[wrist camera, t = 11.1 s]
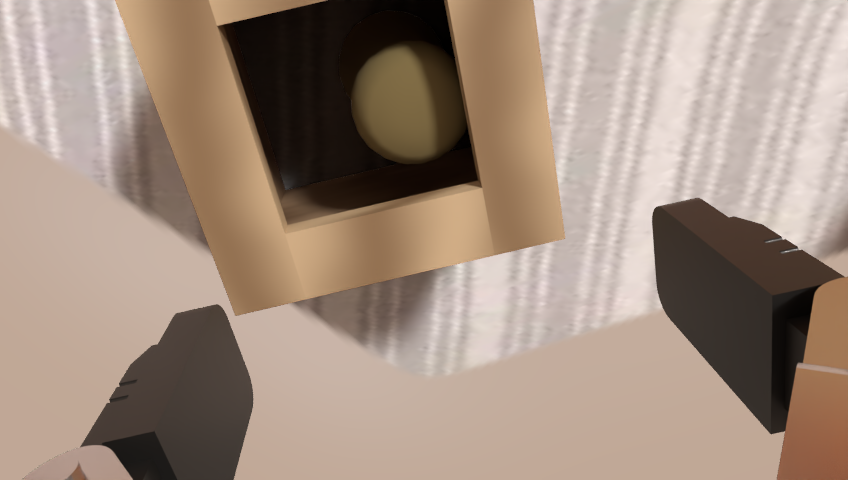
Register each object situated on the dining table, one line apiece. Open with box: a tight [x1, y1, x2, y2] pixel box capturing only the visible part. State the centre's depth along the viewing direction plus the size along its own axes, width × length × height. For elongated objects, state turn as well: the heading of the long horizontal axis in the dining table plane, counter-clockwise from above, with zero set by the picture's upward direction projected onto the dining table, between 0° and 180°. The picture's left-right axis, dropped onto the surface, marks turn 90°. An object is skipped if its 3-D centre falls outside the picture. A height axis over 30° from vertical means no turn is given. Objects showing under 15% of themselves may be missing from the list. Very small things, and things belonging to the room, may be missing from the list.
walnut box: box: [115, 0, 565, 316], centre depth 30 cm, size 14×14×13 cm
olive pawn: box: [339, 10, 468, 164], centre depth 31 cm, size 6×6×11 cm
